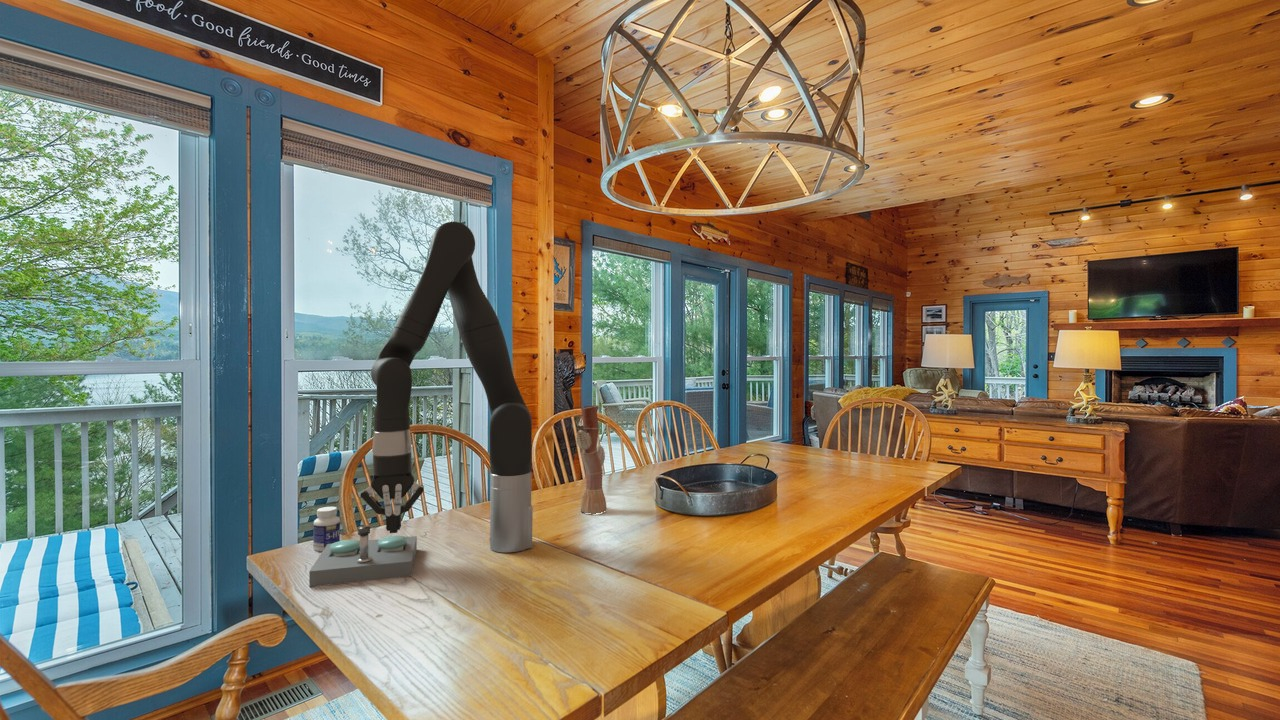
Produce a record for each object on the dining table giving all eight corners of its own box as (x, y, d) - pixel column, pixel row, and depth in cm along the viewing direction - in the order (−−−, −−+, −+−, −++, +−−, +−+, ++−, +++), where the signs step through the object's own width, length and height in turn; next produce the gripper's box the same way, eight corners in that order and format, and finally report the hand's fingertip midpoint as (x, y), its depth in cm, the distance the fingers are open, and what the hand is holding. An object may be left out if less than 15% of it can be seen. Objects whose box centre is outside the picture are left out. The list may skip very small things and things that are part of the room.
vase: (599, 506, 166) (599, 403, 165) (613, 511, 160) (614, 405, 159) (567, 512, 159) (568, 405, 159) (581, 518, 153) (582, 407, 153)
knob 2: (407, 554, 125) (407, 534, 125) (405, 564, 120) (405, 542, 120) (379, 557, 123) (379, 537, 123) (376, 567, 118) (376, 545, 118)
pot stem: (372, 557, 115) (372, 524, 115) (370, 562, 112) (370, 528, 112) (357, 559, 114) (357, 525, 114) (355, 564, 112) (355, 530, 112)
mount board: (416, 549, 129) (416, 536, 129) (411, 576, 113) (411, 561, 113) (327, 557, 123) (327, 543, 123) (309, 587, 108) (309, 571, 108)
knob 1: (362, 559, 122) (362, 538, 122) (358, 568, 117) (358, 547, 117) (333, 562, 121) (333, 541, 120) (327, 571, 115) (327, 549, 115)
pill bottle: (328, 552, 126) (328, 512, 126) (307, 550, 127) (307, 511, 127) (345, 544, 131) (345, 506, 131) (325, 542, 132) (325, 505, 132)
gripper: (426, 446, 126) (427, 523, 127) (360, 450, 122) (362, 530, 123) (425, 452, 119) (426, 534, 120) (355, 456, 115) (356, 541, 115)
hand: (393, 532), depth 121 cm, fingers closed
